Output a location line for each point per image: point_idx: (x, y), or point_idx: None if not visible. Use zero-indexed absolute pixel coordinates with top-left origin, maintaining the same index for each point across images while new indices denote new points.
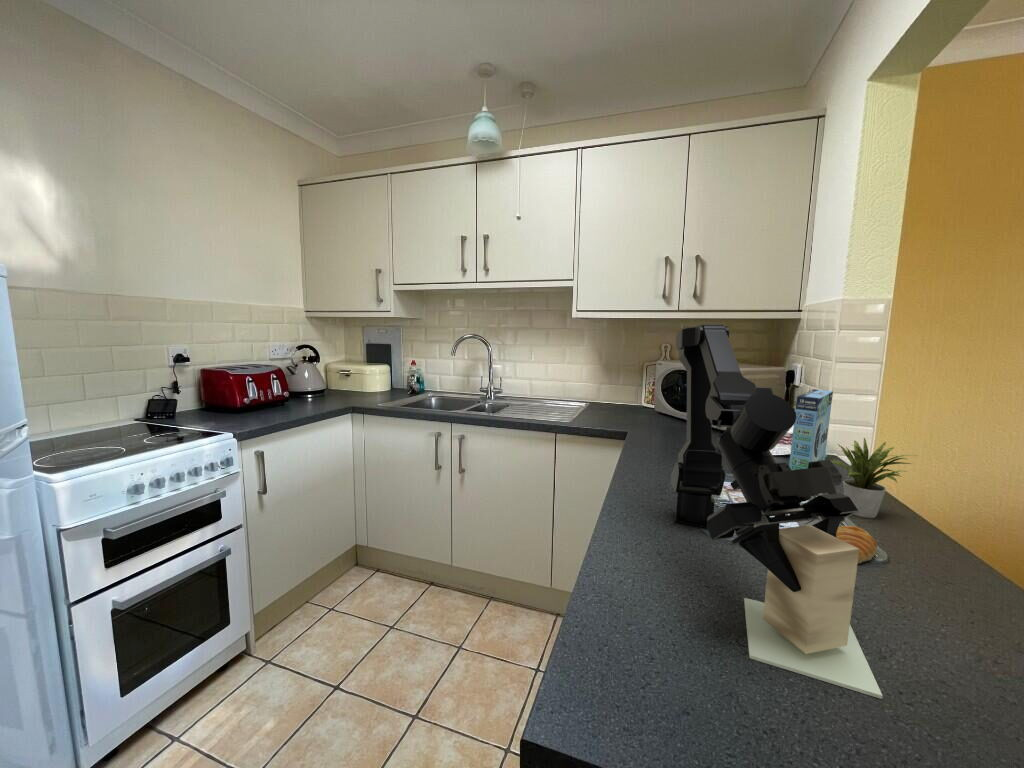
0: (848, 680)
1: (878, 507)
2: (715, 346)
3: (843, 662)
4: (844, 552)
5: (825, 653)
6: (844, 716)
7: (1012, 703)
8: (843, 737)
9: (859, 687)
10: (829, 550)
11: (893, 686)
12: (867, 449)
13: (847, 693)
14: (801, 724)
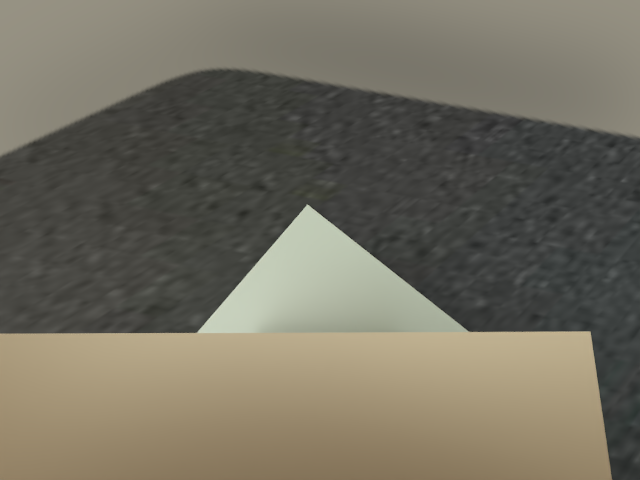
0: (343, 258)
1: None
2: None
3: (294, 309)
4: (201, 335)
5: None
6: (441, 191)
7: (35, 143)
8: (491, 153)
9: (337, 235)
10: (358, 380)
11: (239, 230)
12: None
13: (373, 237)
14: (558, 194)
